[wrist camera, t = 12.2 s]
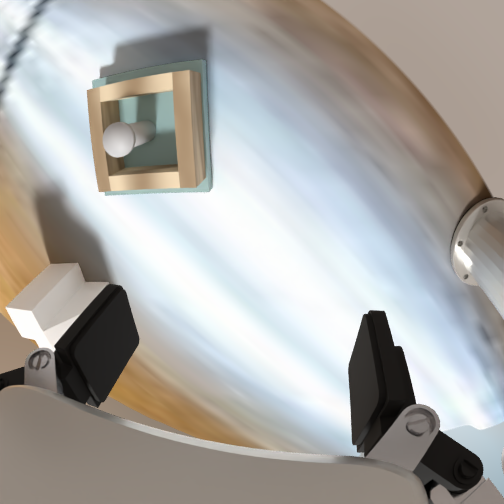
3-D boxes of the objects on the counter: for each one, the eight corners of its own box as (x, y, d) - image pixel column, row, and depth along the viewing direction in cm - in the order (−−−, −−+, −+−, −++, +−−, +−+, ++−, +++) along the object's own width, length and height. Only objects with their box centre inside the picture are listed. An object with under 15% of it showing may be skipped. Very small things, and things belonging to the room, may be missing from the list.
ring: (200, 73, 25) (189, 69, 22) (205, 177, 31) (196, 187, 27) (105, 89, 27) (87, 90, 23) (115, 182, 32) (98, 191, 29)
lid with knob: (206, 60, 26) (181, 50, 19) (212, 188, 33) (192, 212, 26) (99, 80, 27) (58, 81, 21) (111, 191, 34) (76, 214, 27)
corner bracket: (50, 263, 41) (5, 307, 31) (101, 262, 39) (54, 313, 29) (73, 316, 46) (38, 362, 35) (124, 320, 44) (90, 375, 34)
